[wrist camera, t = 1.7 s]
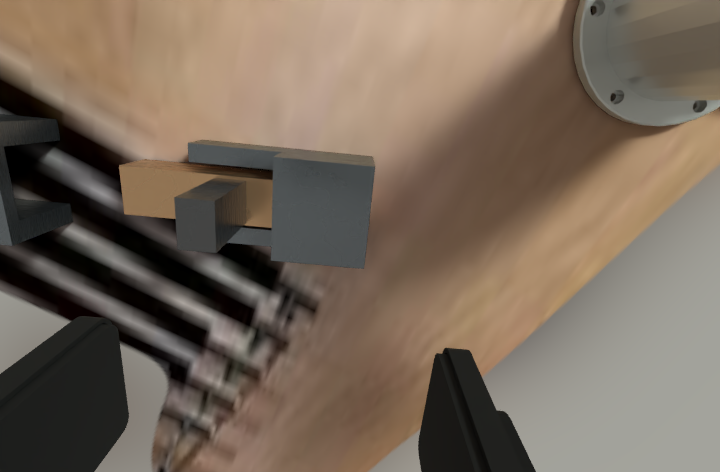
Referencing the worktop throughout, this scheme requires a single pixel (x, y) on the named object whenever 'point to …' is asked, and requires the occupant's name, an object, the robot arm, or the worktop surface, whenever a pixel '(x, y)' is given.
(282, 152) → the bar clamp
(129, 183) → the sliding bolt with handle
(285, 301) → the worktop surface
